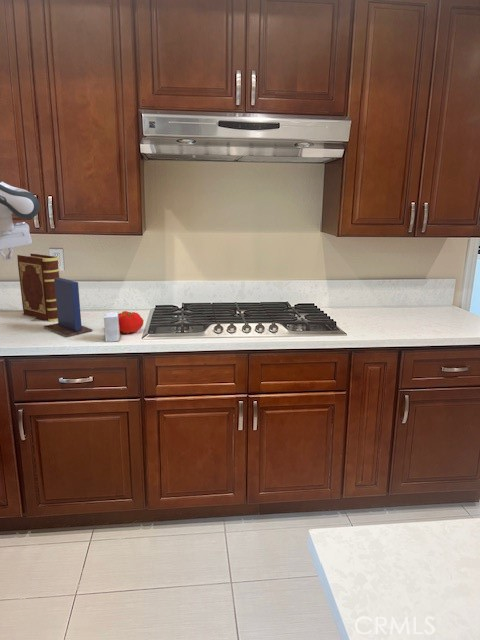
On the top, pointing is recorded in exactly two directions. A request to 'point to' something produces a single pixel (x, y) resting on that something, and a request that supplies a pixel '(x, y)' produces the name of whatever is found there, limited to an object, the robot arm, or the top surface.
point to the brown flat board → (66, 330)
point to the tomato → (129, 322)
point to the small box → (111, 327)
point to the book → (68, 303)
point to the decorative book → (39, 285)
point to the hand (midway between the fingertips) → (7, 259)
